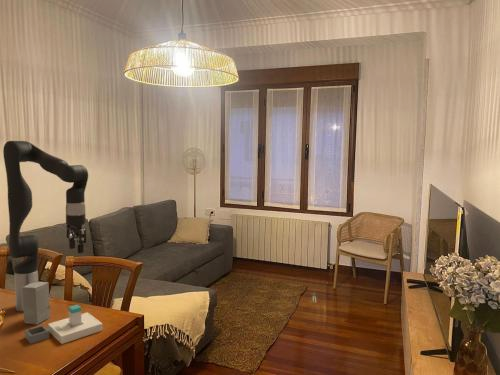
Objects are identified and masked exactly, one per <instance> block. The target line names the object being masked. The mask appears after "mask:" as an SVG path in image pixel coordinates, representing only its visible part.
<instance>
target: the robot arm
mask: <svg viewBox="0 0 500 375" xmlns="http://www.w3.org/2000/svg"><path fill="white" fill-rule="evenodd" d="M2 154H3V160H4V161H3V162H4V167H5V173H6V183H7V184H6V185H7V206H8V208H7V209H8V219H9V232H8V235H9V236H8V249H9V254H10V257H11V258H12V259H18V258H19V259H20V258H24V260H22V261H21V262H18V263H16V264H15V265H14V267H13V268H14V269H13V274H14V292H15V293H14V294H15V296H14V300H15V311H17V312H24V306H23V289H22V287H24V286H27V285H28V284H31V283H34V282H36V281H37V282H39V271H38V270H39V268H38V267H39V266H38V265H39V240H38V237H37V236H36V235H35V234H29V235H23V236H20V232H21V228H22V227H23V223H24V222H25V220H26V218H27V217H28V216H29V214H30V213H31V211H32V208H33V191H32V188H30V185H29V184H28V182H26V179H25V178H24V177H23V174H22V172H21V163H25V162H26V163H27V162H31V163H36V164H39V166H40V167H41V168H42V169H43V170H44V171H45V172H48V173H50V174H52V175H54V176H57V177H58V178H59V179H60V180H61V181H63V182H65V183H69V184H72V186H71V187H69V188H67V190H66V191H65V201H66V203H65V225H66V239H68V241H69V242H68V243H69V244H68V245H69V246H68V247H69V248H68V249H70V250H72V249H73V250H74V249H76V244H77V254H83V253H84V250H85V249H84V248H85V247H84V245H85V244H87V230H86V228H83V225H85V224H86V221H87V220H86V203H85V200H86V199H85V191H86V188H87V184H88V180H89V172H88V168H87V167H86V166H85V165H83V164H76V165H69V163H68V162H67V161H66V160H64V159H61V158H59V157H58V156H55V155H52V154H50V153H47V152H46V151H44V150H42V149H40V148H39V147H37V146H36V145H35V144H33V143H31V142H29V141H26V140H25V141H24V140H8V141H6V142H5V144H4V146H3V152H2Z"/></svg>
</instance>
